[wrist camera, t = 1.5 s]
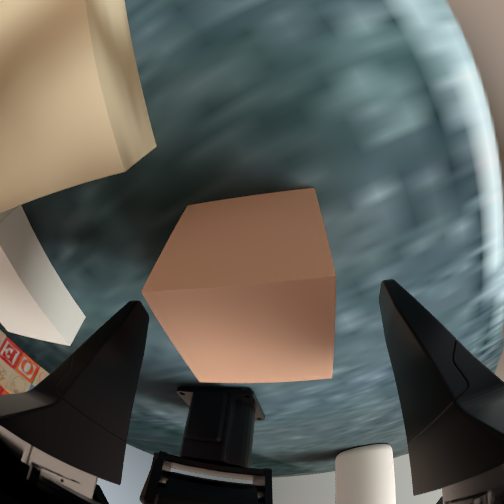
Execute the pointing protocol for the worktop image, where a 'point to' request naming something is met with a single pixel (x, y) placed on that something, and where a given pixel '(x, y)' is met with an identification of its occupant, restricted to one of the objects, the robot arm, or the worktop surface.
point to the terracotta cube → (249, 289)
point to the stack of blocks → (17, 369)
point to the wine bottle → (365, 475)
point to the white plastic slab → (32, 286)
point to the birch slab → (67, 97)
